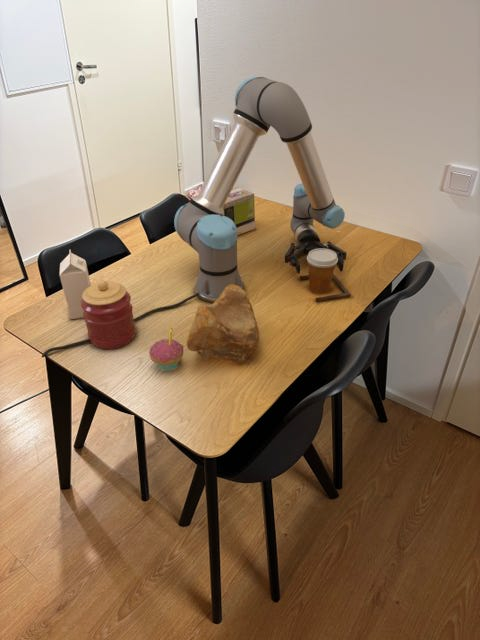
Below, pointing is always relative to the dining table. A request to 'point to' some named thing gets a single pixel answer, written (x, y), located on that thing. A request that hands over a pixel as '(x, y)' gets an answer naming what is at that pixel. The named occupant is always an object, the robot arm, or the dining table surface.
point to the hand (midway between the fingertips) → (320, 269)
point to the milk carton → (74, 283)
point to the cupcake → (166, 353)
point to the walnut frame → (332, 297)
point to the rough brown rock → (225, 327)
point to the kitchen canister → (108, 314)
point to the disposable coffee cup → (321, 269)
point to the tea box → (240, 210)
